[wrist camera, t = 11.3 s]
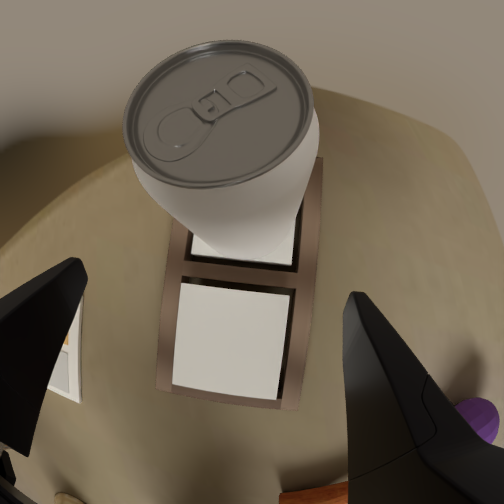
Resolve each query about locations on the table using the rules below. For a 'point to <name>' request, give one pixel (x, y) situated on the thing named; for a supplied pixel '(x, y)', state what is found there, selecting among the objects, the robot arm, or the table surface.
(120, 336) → the table surface
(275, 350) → the inner pad
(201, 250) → the outer pad
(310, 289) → the button board
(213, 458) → the table surface
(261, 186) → the can
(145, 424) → the table surface
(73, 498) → the hand bell
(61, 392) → the pattern card
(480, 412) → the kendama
